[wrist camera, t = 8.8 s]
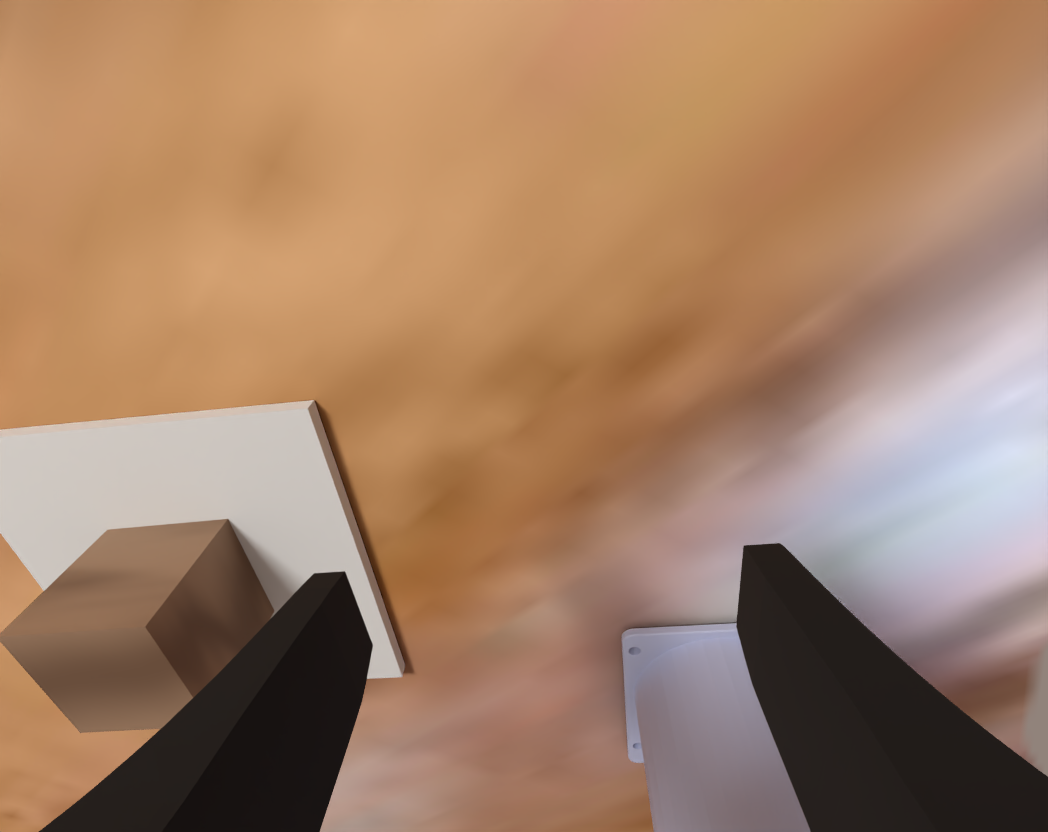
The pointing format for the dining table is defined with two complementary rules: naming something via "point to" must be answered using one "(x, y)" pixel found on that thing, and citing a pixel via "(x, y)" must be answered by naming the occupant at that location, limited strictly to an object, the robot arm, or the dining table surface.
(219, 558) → the walnut cube
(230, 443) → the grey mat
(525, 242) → the dining table surface
